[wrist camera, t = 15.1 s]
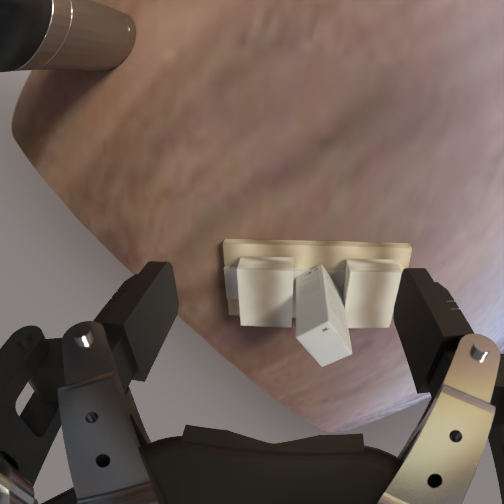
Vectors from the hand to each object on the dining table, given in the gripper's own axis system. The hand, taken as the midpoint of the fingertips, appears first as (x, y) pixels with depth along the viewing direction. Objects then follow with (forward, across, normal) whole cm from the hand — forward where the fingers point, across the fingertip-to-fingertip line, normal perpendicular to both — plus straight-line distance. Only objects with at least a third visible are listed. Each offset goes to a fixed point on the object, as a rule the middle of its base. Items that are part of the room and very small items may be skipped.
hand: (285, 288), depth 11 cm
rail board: (+30, -4, +18) cm, 35 cm away
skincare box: (+28, -4, +18) cm, 34 cm away
